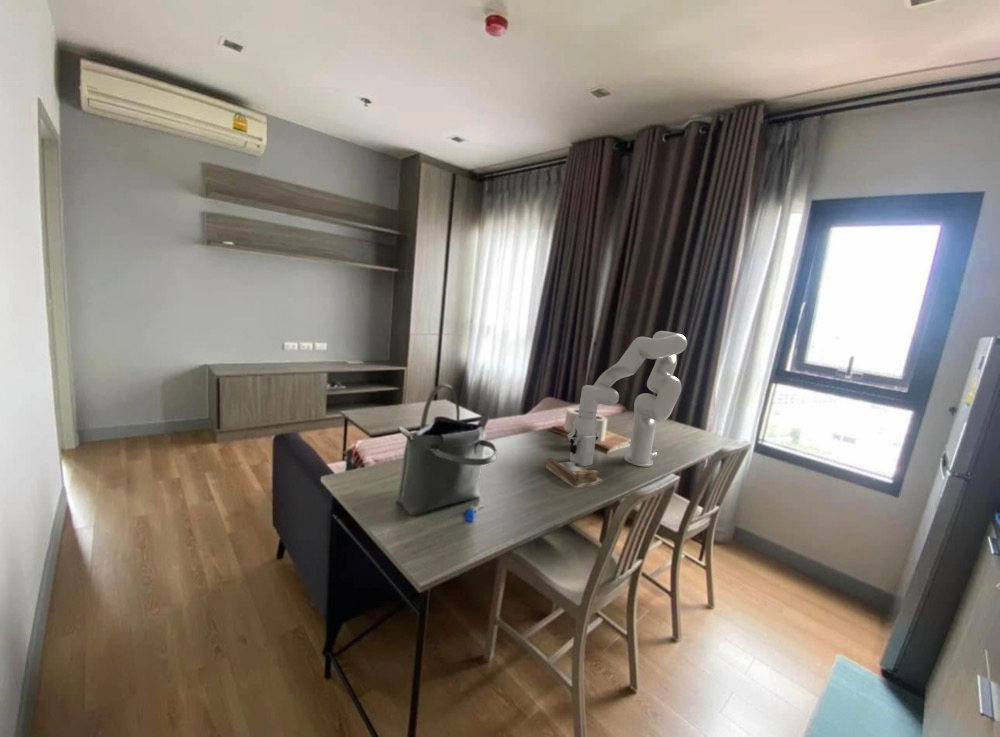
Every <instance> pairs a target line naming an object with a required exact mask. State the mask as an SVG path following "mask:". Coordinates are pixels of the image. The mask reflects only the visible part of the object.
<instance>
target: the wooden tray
mask: <svg viewBox="0 0 1000 737" xmlns="http://www.w3.org/2000/svg"><path fill="white" fill-rule="evenodd" d="M545 464H546V465H545V468H546V469H547V470H548V471H550V472H551V473H553V474H554V475H555V476H556V477H558V478H560V479H561V480H563V481H564V482H566V483H567V484H568V485H569V486H571V487H572V488H573V489H578V488H585V487H588V486H589V487H590V486H594V485H601V484H603V483H604V479H602V478H600V477H599V476H598V473H599V471H598V470H597V469H593V470H587V469H586V468H584V467H583V466H581V465H580V464H578V463H575V462H573V461H566V462H565V461H564V462H557V461H556V460H554V459H553V458H551V457H547V458H546V463H545Z"/></svg>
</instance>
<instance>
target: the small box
mask: <svg viewBox="0 0 1000 737" xmlns="http://www.w3.org/2000/svg"><path fill="white" fill-rule="evenodd" d="M572 438H573V437H572ZM576 438H577V437H576ZM575 440H576V439H575ZM575 440H574V441H575ZM595 441H596V442H597V440H596V436H595V435H591V436H583V438H582V440H581V441H578V442H577V444H576V445H577V448H576V454H573V453H572V452H570V451H569V452H570V453H569V462H572V461H573V462H575V463H578V464H580V466H581V467H583V468H584V467H587V466H588V467H589V466H591V465H593V463H594V456H595V446H596V443H595Z"/></svg>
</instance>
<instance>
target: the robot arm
mask: <svg viewBox="0 0 1000 737" xmlns="http://www.w3.org/2000/svg"><path fill="white" fill-rule="evenodd" d="M687 346H688V340H687V338H686V337H685V335H683V334H681V333H677V332H672V331H668V330H667V331H666V330H660V331H656V332H655V333H654V334H653V335H652V337H646V336H638V337H636V338H635V339H633V341H632V342H631V344H630V345H629V346H628V348H627V349H626V350H625V352H624V353H623V355H622V356H621V357H620V359H619V360H618V362H616V363H615V364H614V365H612V366H610V367H609V368H607V369H606V370H605V371H604V372H602V373H601V374H600V375H599V377H598V378H597V379H596V381H595V383H594V384H593V385H591V384H589V385H588V384H586V385H583V386H582V388H581V394H580V399H579V400H580V401H579V406H578V414H577V415H576V417H575V419H574V421H573V422H574V425H573V429H571V432H569V433H568V434H567V439H568V441H569V443H570V449H569V452H572V453H573V454H576V448H577V445H576V444H577V442H578V441H581V440H582V438H583V436H591V435H595V436H596V441H595V444H596V443H597V440H598V439H599V437H600V435H601V432H599V431H598V430H597V422H598V421H597V415H598V406H599V404H600V405H604V406H614V405H616V404H617V403H618V402H619V400H620V394H619V392H618V391H617V390H616V389H614V388H613V387H612V386H613V385H614V384H615V383H616V382H617V381H619V380H621V379H623V378H627V377H630V376H633V375H635V374H636V372H637V371H638V370H639V368H640V367H641V366H642V364H643V363H644V361H645V360H646V359H650V360H655V363H654V366H653V368H652V370H651V372H650V375H649V377H648V378H647V382H646V387H647V388H648V389H649V391H651V392H652V393H654V394H657V395H654V394H651V393H646V392H645V393H641V394H639V395H637V396H636V397H635V400H634V404H633V406H634V407H633V412H634V414H633V415H634V416H633V424H632V431H631V438H630V443H629V448H628V449H629V450H628V453H626V454H625V455H624V457H623V458H624V461H626V462H627V463H629V464H630V465H634V466H636V467H643V468H644V467H645V468H647V467H652V466H654V460H653V458H655V457H658V452H655V451H654V452H652V450H653V445H654V439H655V434H656V426H657V425H656V424H657V422H664V421H666V420H667V419H669V417H670V416H671V414H672V412H673V410H674V408H675V405H677V401H678V400H679V397H680V395H681V392H682V383H681V382H682V381H681V380H680V379H679V378H677V377H676V376H674V373H675V370H676V367H677V364H678V357H677V355H679V354H681V353H683V352H684V351H685V350H686V349H687ZM572 437H573V438H572ZM576 437H577V438H576ZM575 439H576V440H575ZM574 440H575V441H574Z"/></svg>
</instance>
